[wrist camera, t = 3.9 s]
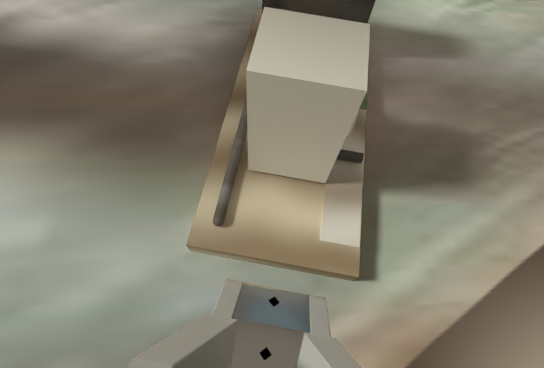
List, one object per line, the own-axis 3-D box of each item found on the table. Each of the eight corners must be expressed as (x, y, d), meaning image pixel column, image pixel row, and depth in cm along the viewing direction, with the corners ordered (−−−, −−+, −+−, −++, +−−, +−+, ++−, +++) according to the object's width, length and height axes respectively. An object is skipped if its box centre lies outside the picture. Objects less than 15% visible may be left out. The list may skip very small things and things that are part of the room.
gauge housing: (358, 189, 24) (420, 100, 16) (248, 169, 25) (246, 70, 16) (362, 117, 28) (415, 9, 19) (264, 100, 28) (270, -15, 19)
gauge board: (352, 280, 23) (362, 274, 21) (190, 250, 23) (184, 241, 21) (365, 38, 35) (373, 19, 33) (257, 20, 35) (257, 0, 33)
